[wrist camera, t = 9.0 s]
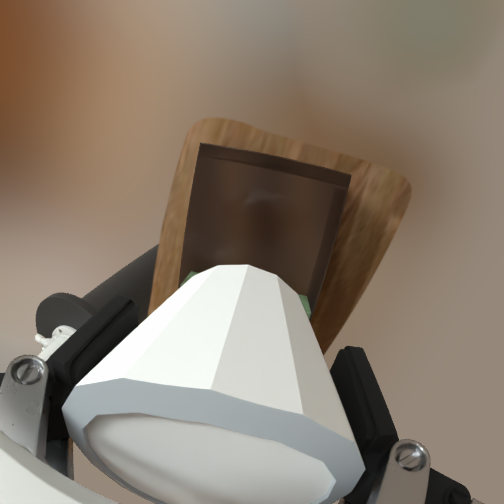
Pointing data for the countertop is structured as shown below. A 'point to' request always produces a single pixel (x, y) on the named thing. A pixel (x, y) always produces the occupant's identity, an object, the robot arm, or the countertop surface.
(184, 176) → the countertop surface
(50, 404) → the robot arm
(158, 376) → the white cylinder
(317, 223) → the tray
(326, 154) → the countertop surface
